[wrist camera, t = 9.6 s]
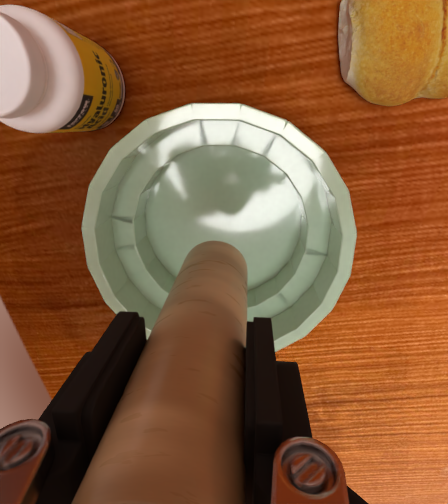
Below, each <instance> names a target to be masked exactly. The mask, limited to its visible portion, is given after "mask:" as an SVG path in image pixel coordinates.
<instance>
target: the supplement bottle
mask: <svg viewBox="0 0 448 504" xmlns="http://www.w3.org/2000/svg"><path fill="white" fill-rule="evenodd" d="M124 98H125V85H124V79H123V76H122V73H121V70H120V68H119V66H118V64H117V63H116V61H115V60H114V58H113V57H112V56H111V55H110V54H109V53H108V52H107V51H106V50H105V49H104V48H102V47H101V46H100V45H98V44H97V43H95V42H93V41H92V40H90V39H88V38H86V37H84V36H82V35H81V34H79V33H77V32H75V31H73V30H72V29H70V28H68V27H66V26H64V25H63V24H61V23H59V22H57V21H55V20H54V19H52V18H50V17H48V16H46V15H44V14H42V13H40V12H38V11H36V10H33V9H30V8H27V7H23V6H18V5H1V6H0V121H1V122H2V123H4V124H6V125H8V126H10V127H12V128H14V129H18V130H21V131H25V132H31V133H58V132H80V131H94V130H98V129H101V128H104V127H106V126H108V125H109V124H110V123H112V122H113V121H114V120H115V119H116V117H117V116H118V115H119V113H120V111H121V109H122V106H123V103H124Z"/></svg>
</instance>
